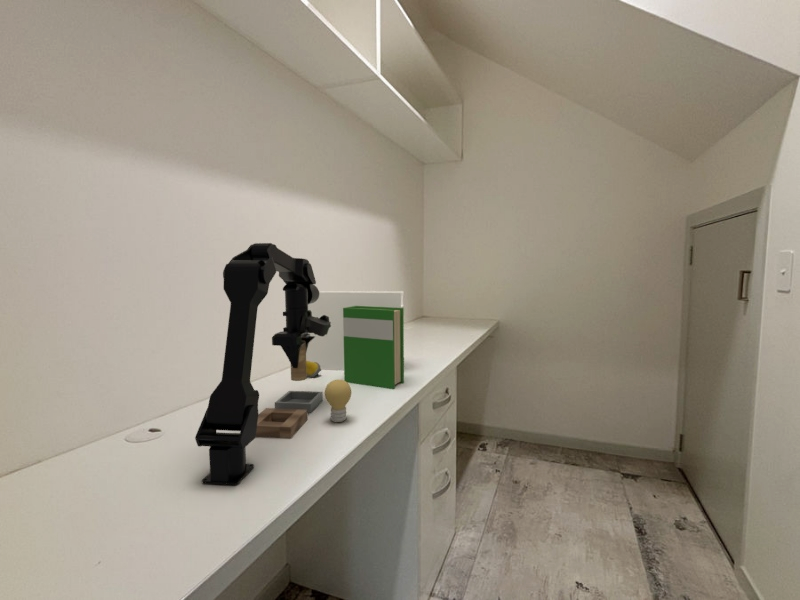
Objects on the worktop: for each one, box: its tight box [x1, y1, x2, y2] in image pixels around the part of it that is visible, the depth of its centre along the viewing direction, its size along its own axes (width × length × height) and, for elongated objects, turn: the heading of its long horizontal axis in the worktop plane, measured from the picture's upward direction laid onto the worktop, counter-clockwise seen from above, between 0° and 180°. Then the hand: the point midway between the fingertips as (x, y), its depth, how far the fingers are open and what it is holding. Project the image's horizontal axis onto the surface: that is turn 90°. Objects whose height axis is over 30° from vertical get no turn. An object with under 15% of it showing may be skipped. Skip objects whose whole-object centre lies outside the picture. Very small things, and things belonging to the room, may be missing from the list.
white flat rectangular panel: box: [306, 290, 405, 372], centre depth 143 cm, size 35×8×28 cm, turn 81°
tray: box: [274, 390, 324, 414], centre depth 106 cm, size 10×10×2 cm
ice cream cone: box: [306, 361, 322, 378], centre depth 133 cm, size 5×5×10 cm
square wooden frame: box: [255, 407, 308, 439], centre depth 92 cm, size 10×10×2 cm
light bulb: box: [324, 379, 352, 423], centre depth 96 cm, size 6×6×10 cm
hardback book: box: [343, 306, 405, 390], centre depth 126 cm, size 18×7×24 cm, turn 64°
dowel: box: [290, 340, 308, 382], centre depth 105 cm, size 4×4×10 cm
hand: (298, 365), depth 105 cm, fingers closed on dowel, 4 cm apart
